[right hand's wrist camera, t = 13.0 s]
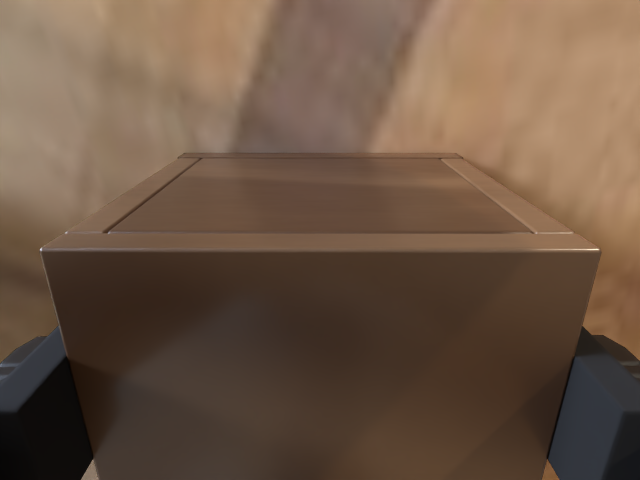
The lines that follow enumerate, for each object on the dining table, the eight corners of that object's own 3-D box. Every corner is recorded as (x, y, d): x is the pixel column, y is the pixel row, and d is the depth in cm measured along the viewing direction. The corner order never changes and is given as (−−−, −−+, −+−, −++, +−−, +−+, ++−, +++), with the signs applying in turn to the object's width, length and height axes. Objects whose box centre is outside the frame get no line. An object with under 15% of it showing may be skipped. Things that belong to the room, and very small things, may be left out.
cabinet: (417, 484, 22) (475, 735, 14) (222, 484, 22) (164, 734, 14) (456, 153, 16) (605, 248, 8) (184, 153, 16) (34, 248, 8)
